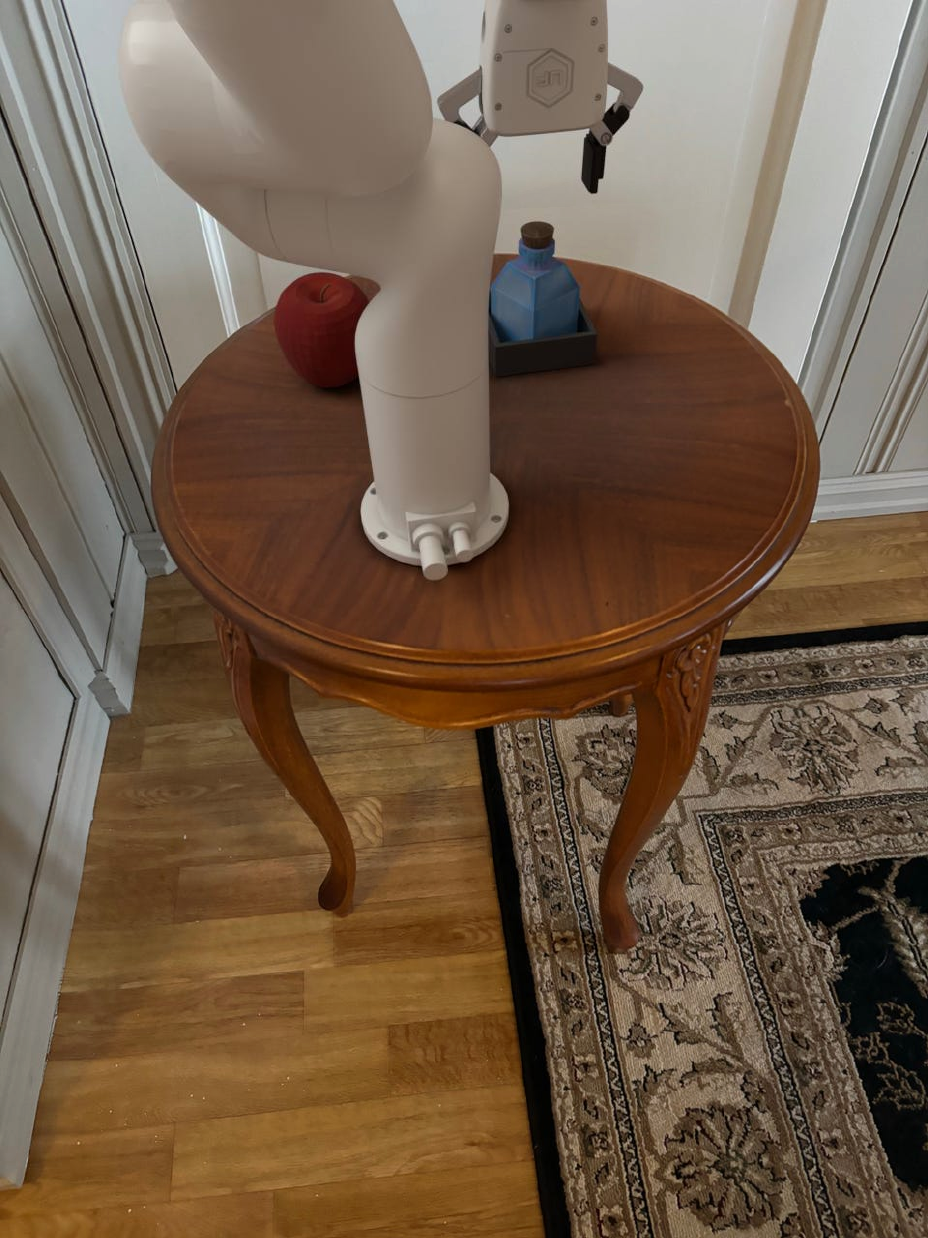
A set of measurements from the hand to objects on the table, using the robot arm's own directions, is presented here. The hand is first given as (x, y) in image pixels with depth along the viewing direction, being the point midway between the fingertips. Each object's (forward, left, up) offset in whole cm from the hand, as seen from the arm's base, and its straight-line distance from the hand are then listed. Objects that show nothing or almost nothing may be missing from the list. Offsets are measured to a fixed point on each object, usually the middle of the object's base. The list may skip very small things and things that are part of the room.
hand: (537, 192), depth 80 cm
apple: (-1, +21, -16) cm, 26 cm away
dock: (0, 0, -16) cm, 16 cm away
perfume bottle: (+1, 0, -16) cm, 16 cm away
